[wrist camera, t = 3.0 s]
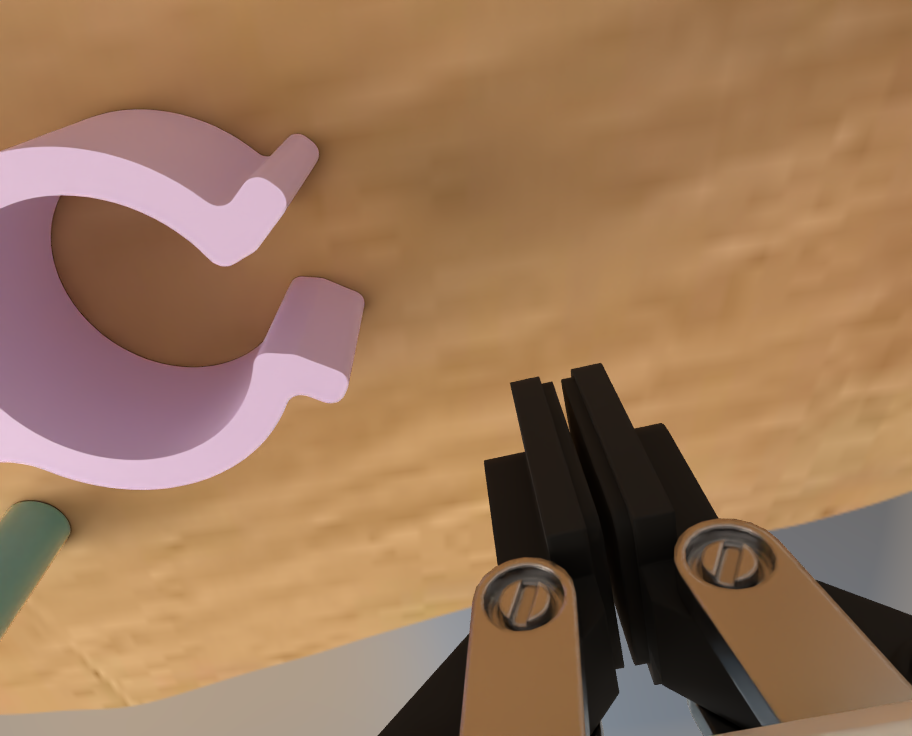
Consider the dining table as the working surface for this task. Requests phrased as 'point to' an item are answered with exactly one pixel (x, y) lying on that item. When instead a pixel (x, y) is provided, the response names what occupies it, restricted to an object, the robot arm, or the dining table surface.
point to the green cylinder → (27, 553)
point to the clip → (121, 372)
